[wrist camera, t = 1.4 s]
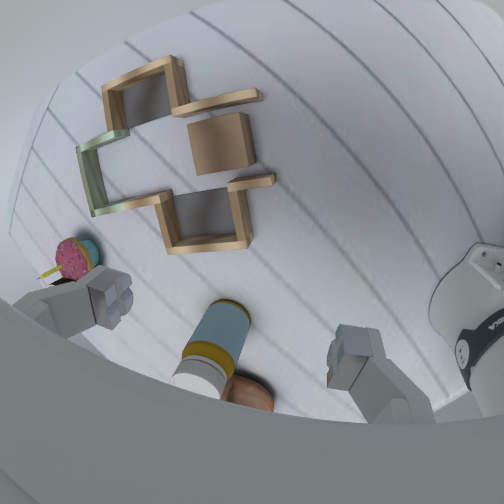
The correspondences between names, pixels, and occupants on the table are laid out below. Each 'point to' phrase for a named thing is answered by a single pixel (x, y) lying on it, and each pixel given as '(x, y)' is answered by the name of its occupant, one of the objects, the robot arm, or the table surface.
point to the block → (222, 143)
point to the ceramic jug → (247, 393)
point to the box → (166, 205)
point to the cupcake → (74, 258)
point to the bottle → (213, 350)
